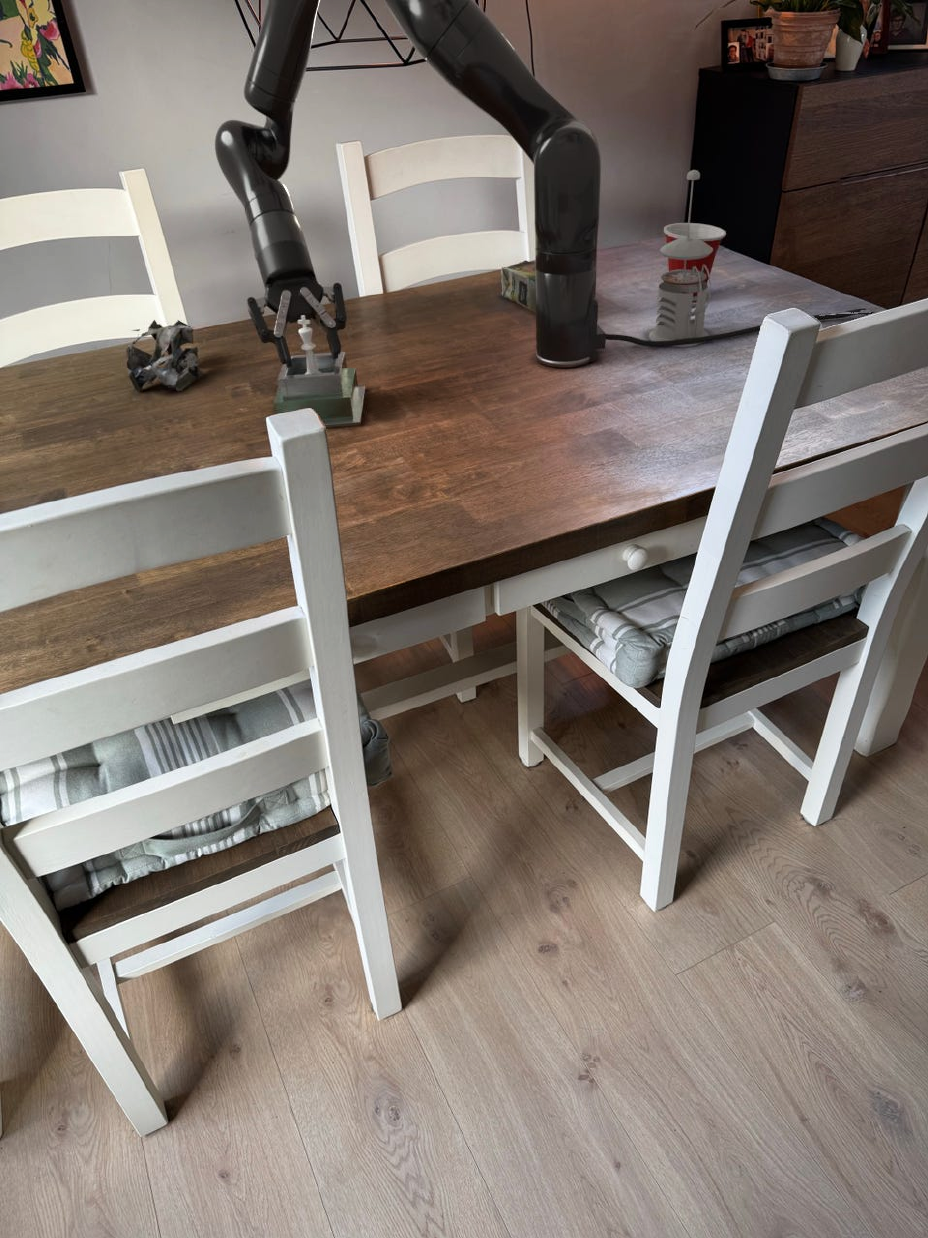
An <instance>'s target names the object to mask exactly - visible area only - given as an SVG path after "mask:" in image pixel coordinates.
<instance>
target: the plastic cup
mask: <svg viewBox="0 0 928 1238" xmlns="http://www.w3.org/2000/svg"><path fill="white" fill-rule="evenodd" d="M687 231H688V222H677V223H671V224H667V225H665V226H663V233H664V234H665V241H666V244H668V243H670V242H672V241H674V240H677V239H683V238H687ZM726 236H727V233H726V230H724V229H722V228H721V227H717V226H714V225H711V224H704V223H697V222H696V223H695V222H690V226H689V238H693V239H699V240H701V241H703V242H705V243H706V244H707V245H709V246H710V247H712V248H713V252H712V253H711V254H710V255H708V256H707V257H704V258H700V259H693V260H686V269H687V270H688V269H689V270H690V269H691V270H693V267H694V266H696V268H697V270H698V271H700V272H701V270H702V266H703V265H706V267H707V269H708V271H709V275H710V276H711V273H712V269H713V266H714V263H715V258H716V256H717V252H718V250H719V247H720V245H721V242H722V241H723V239H724V238H725V237H726ZM667 263H668V264H667V265H668V272H669V271H672V270H676V271H677V270H678V269H679V270H680V269H681V270H682V269H683V270H684V263H685V260H677V259H670V258H667ZM694 270H695V268H694ZM695 271H696V270H695ZM703 272H704V274H706V275H707V279H706V280H705V281H703V282H705V283H706V284H707V285H708V283H709V277H708V274H707V270H706V269H705V267H704V269H703ZM702 291H703V290H702ZM698 292H700V291H698ZM698 292H695V293H693V297H695V296H697V293H698ZM682 294H688V293H686V292H682ZM695 302H697V300H695V301H692V303H695Z"/></svg>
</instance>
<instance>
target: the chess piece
mask: <svg viewBox="0 0 928 1238" xmlns="http://www.w3.org/2000/svg"><path fill="white" fill-rule="evenodd" d="M310 324H311V320H306V319H305V315H302V316H301V320H298V321H297V325H301V326H302V327H301V328H299V329H298V334H299V336H300V338H301V340H302V342H303V344H301V346H300V349H301V350H303V351H305V355H306V361H307V372H306V373H305V374H317V373H321V371H319V370H318V368H317V364H316V361H315V358H314V354H315V353H314V351H313V350H314V349H316V347H317V346H316V344H315V343H313V342H312V339H313V332H314V331H313V328H312V327H311V326H310V327H309V326H308V325H310Z"/></svg>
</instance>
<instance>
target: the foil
mask: <svg viewBox="0 0 928 1238" xmlns="http://www.w3.org/2000/svg"><path fill="white" fill-rule="evenodd" d="M194 330H195V328H194V327H192V326H190V325H188V324H187V323H184V322H182V321H181V320H179V319H177V321H176V322H175V323H174V324H173V325H171V324H170V325H166V326H163V325H162V324H161V323H158V322H157V321H156V320H155V319H153V320H152V322H151V323H150V324H149V326H148V327H147V331H146V332H145V331H144V332H143V333H141V335H140V334H139V333H138V334H137V339H136V340H133V342H131V343H129V344H128V346H127V347H125V351H126V357H127V360H126V372H127V375H128V379H129V380H130V382H131V384H132V386H133V389H134V390H136V391H137V392H139V393H142V391H143V387H144V386H145V384H149V385H154V383H153V382H154V381H155V380H156V379H157V378H158V379H159V380H161V381H162V385H164V386H166V387H167V388H168V389H169V390H173V391H174V390H175V391H177V392H181V391H183V390H184V389H185V388H186V387H188V386H189V385H191V384H192V383H194V382H195V381H198V380H199V379H200V378H201V376H202V375H203V373H202V371H201V369H200V366H199V365H200V364H202V363H203V362H204V360H201V361H200V360H199V348H198V346H195V347H185V348H184V349H183V348H182V346H183V345H186V344H194ZM131 331H132V332H140V331H141V329H140V328H139V329H131ZM148 336H151V337H152V338H153V340H154V341H155V348H154V351H153V353H152V354H150V353H148V352H145V351H144V350H141V349H140V348H137V347H136V346H133V345H136V343H138V342H139V341H140V339H141V338H144V337H148ZM166 353H167V354H168V355H167V356H165V354H166ZM203 358H204V357H203ZM167 360H168V362H167V363H166V361H167ZM198 360H199V361H198ZM165 363H166V365H164V364H165ZM162 365H164V366H163V367H159V366H162Z"/></svg>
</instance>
